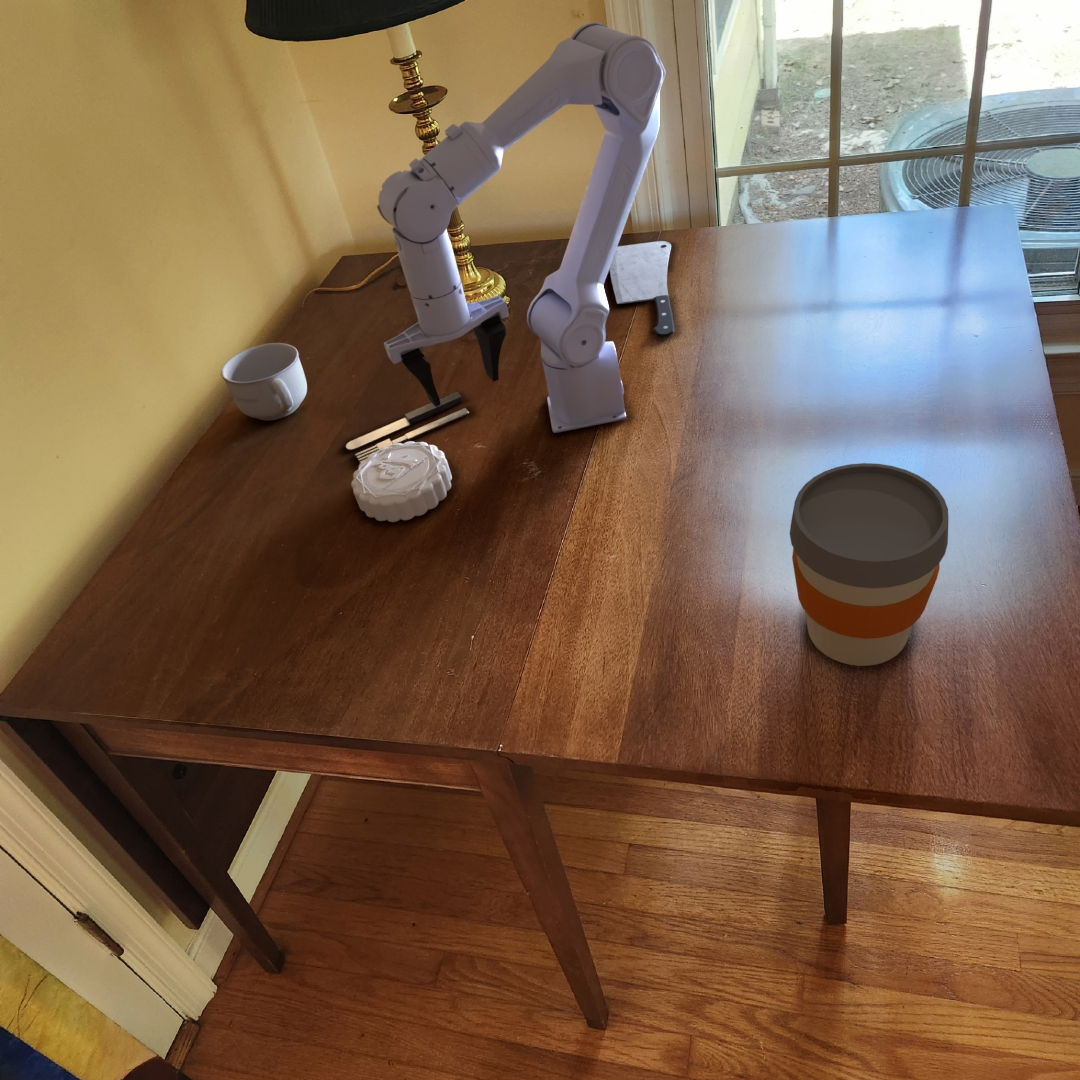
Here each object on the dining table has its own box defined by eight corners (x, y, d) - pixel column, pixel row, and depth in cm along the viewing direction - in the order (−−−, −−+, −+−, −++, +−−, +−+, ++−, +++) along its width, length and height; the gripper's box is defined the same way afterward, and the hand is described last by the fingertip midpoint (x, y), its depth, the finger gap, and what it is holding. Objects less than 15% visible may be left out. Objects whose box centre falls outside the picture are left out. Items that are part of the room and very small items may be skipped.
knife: (458, 396, 124) (456, 390, 123) (463, 402, 123) (462, 397, 122) (344, 445, 120) (342, 440, 120) (349, 452, 119) (346, 447, 118)
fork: (464, 408, 122) (463, 405, 121) (471, 416, 120) (470, 414, 120) (355, 455, 118) (354, 453, 118) (361, 464, 116) (360, 462, 116)
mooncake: (411, 448, 117) (404, 426, 115) (472, 480, 110) (465, 457, 108) (339, 499, 112) (330, 477, 109) (398, 537, 105) (389, 514, 102)
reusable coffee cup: (843, 703, 78) (854, 587, 68) (761, 612, 87) (760, 497, 77) (960, 644, 81) (988, 523, 70) (869, 561, 89) (882, 443, 79)
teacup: (238, 403, 133) (215, 357, 128) (307, 377, 135) (288, 330, 130) (253, 451, 123) (229, 403, 118) (328, 422, 125) (308, 374, 120)
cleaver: (608, 344, 127) (679, 335, 125) (608, 341, 126) (679, 332, 125) (609, 249, 148) (670, 241, 146) (609, 246, 147) (670, 238, 146)
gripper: (479, 250, 102) (504, 352, 111) (362, 297, 99) (397, 398, 108) (505, 272, 97) (528, 377, 106) (383, 321, 94) (418, 425, 103)
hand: (464, 389), depth 107 cm, fingers open, 7 cm apart
